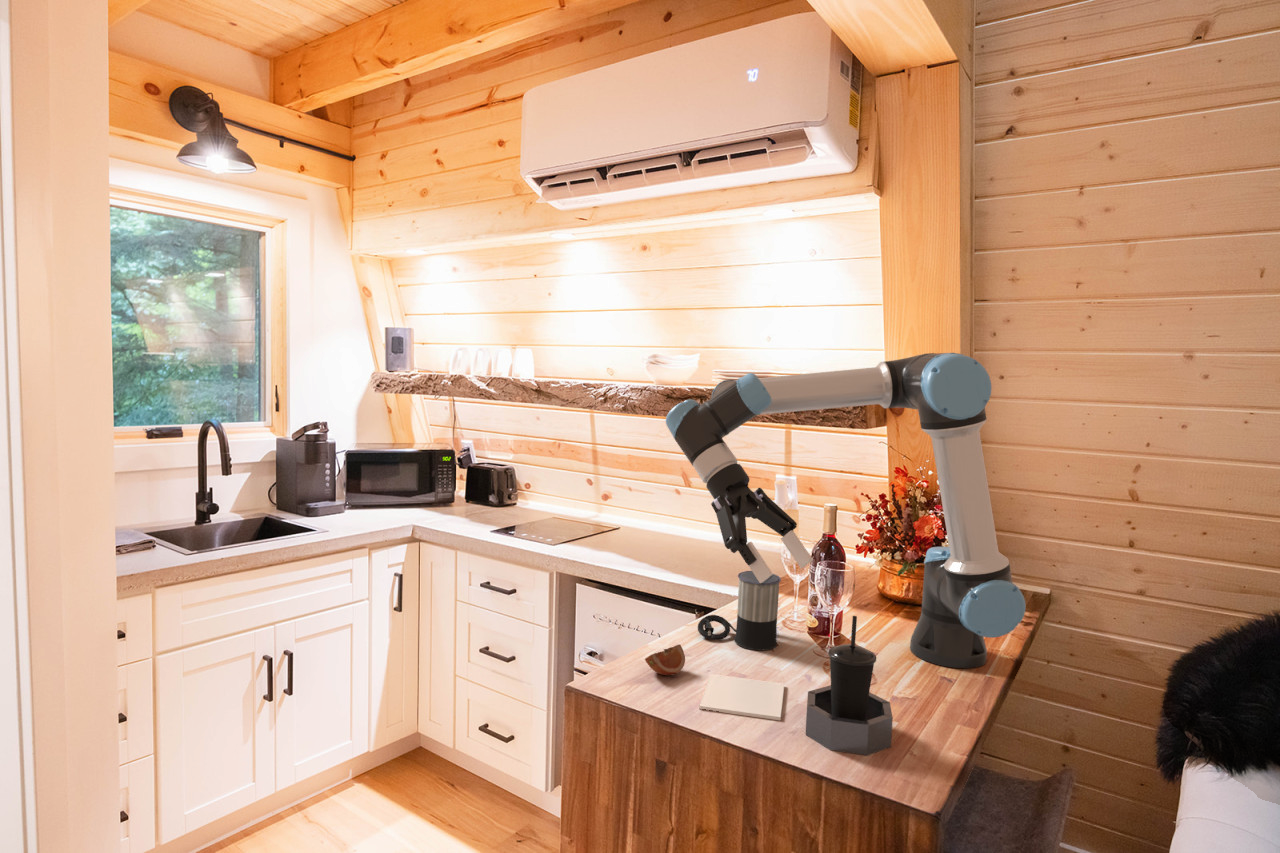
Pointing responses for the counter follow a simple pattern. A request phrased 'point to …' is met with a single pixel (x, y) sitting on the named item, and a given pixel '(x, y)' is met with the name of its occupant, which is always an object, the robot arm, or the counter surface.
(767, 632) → the milk frother
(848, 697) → the drinking cup
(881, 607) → the counter surface
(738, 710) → the coaster
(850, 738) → the grey octagonal ring
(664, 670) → the fruit slice
